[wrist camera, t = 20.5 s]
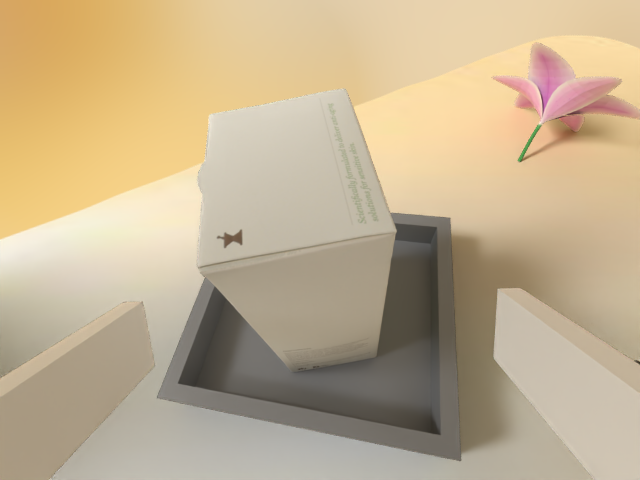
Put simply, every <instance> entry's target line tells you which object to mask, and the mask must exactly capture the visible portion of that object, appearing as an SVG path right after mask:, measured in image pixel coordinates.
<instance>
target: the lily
mask: <svg viewBox="0 0 640 480" xmlns="http://www.w3.org/2000/svg"><path fill="white" fill-rule="evenodd" d="M491 78H493V79H494V80H496V81H498V82H500V83H502V84H504V85H506V86H508V87H510V88H512V89H514V90H516V91H517V92H519V95H518V96H517V98H516V100H515V102H514V106H515V107H517V108H535V109H536V111H537V112H538V114H539V116H540V119H541V120H540V122H539V124H538V125H537V127H536V129H535V130H534V132H533V134H532V135H531V137H530V139H529V140H528V142H527V144H526V146H525V148H524V150H523V152H522V153H521V155H520V157H519V159H518V161H519V162H521V160H522V158H523V156H524V155H525V153H526V151H527V149H528V147H529V145H530V143H531V142H532V140H533V138H534V137H535V135H536V133H537V132H538V130H539V129H540V127H541V126H542V124H544V123H545V122H547V121H549V120H553V119H557V118H558V119H559V120H560V121H562V122H563V123H564V124H565V125H566V126H568V127H569V128H570V129H571V130H572V131H574V132H578V131H579V130H580V128H581V127H582V125H583V123H584V119H585V117H584V115H574V114H607V115H615V116H622V117H628V118H634V119H640V110H639V109H638V108H636V107H635V106H633V105H632V104H630V103H628V102H626V101H624V100H622V99H620V98H617V97H615V96H611V95H606V94H608V93H609V92H611V91H612V90H613V89H615V88H616V87H617V86H618V85H619V84H620V83H621V82H622V79H619V78H615V77H582V78H575V73H574V71H573V69H572V67H571V66H570V65H569V64H568V62H567V61H566V60H565V59H563V58H562V57H561V56H560V55H559V54H558V53H556V52H555V51H553V50H552V49H550V48H549V47H547V46H545V45H543V44H541V43H534V44H533V45H532V48H531V53H530V63H529V71H528V79H526V78H523V77H517V76H493V77H491ZM564 115H571V116H564Z"/></svg>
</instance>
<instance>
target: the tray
mask: <svg viewBox="0 0 640 480" xmlns="http://www.w3.org/2000/svg"><path fill="white" fill-rule="evenodd" d="M390 214H391V217H392V219H393V222H394V224H395V227H396V230H397V232H396V234H395V241H394V246H393V253H392V258H391V263H390V272H389V278H388V285H387V291H386V297H385V304H384V310H383V316H382V323H381V329H380V336H379V342H378V349H377V356H376V357H375V358H370V359H365V360H360V361H355V362H349V363H344V364H338V365H333V366H327V367H322V368H316V369H310V370H304V371H298V372H291V371H290V369H289V368H288V367H287V366H286V365H285V363H284V362H283V361H282V360H281V359H280V358H279V357H278V356H277V354H276V353H275V352H274V351H273V350H272V349H271V348H270V347H269V345H268V344H267V343H266V342H265V341H264V340H263V339H262V338H261V337H260V335H259V334H258V333H257V332H256V331H255V330H254V329H253V328H252V327H251V326H250V324H249V323H248V322H247V321H246V320H245V319H244V318H243V317H242V315H241V314H240V313H239V312H238V311H237V310H236V309H235V308H234V306H233V305H232V304H231V303H230V302H229V301H228V300H227V299H226V298H225V296H224V295H223V294H222V293H221V292H220V291H219V290H218V289H217V288H216V287H215V286H214V285H213V284H212V283H211V282H210V281H209V280H208V279H207V278H206V277H205V279H204V281H203V284H202V286H201V289H200V291H199V294H198V296H197V299H196V301H195V304H194V306H193V309H192V311H191V314H190V316H189V319H188V321H187V324H186V326H185V329H184V331H183V333H182V336H181V338H180V341H179V343H178V346H177V348H176V351H175V353H174V356H173V358H172V361H171V363H170V366H169V368H168V371H167V373H166V376H165V378H164V381H163V383H162V386H161V388H160V391H159V393H158V396H157V398H159V399H164V400H169V401H173V402H178V403H182V404H187V405H192V406H197V407H202V408H206V409H211V410H216V411H221V412H226V413H230V414H235V415H240V416H245V417H250V418H255V419H259V420H264V421H269V422H274V423H279V424H283V425H288V426H293V427H298V428H303V429H308V430H312V431H317V432H322V433H327V434H332V435H336V436H341V437H346V438H351V439H356V440H360V441H365V442H370V443H375V444H380V445H385V446H389V447H394V448H399V449H404V450H409V451H413V452H418V453H423V454H428V455H433V456H438V457H442V458H447V459H453V460H458V461H461V447H460V425H459V402H458V380H457V358H456V336H455V313H454V291H453V269H452V247H451V224H450V218H446V217H435V216H423V215H411V214H400V213H390Z"/></svg>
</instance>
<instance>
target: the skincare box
mask: <svg viewBox="0 0 640 480" xmlns="http://www.w3.org/2000/svg"><path fill="white" fill-rule="evenodd" d="M197 181H198V186H199V189H200V191H201V193H202V202H201V214H200V226H199V239H198V256H197V267H198V269H199V271H200V273H201V274H202V275H203V276H204V277H206V278H207V279H208V280H209V281H210V282H211V283H212V284H213V285H214V286H215V287H216V288H217V289H218V290H219V291H220V292H221V293H222V294H223V295H224V296H225V298H226V299H227V300H228V301H229V302H230V303H231V304H232V305H233V306H234V308H235V309H236V310H237V311H238V312H239V313H240V314H241V315H242V317H243V318H244V319H245V320H246V321H247V322H248V323H249V324H250V326H251V327H252V328H253V329H254V330H255V331H256V332H257V333H258V334H259V335H260V337H261V338H262V339H263V340H264V341H265V342H266V343H267V344H268V345H269V347H270V348H271V349H272V350H273V351H274V352H275V353H276V354H277V356H278V357H279V358H280V359H281V360H282V361H283V362H284V363H285V365H286V366H287V367H288V368H289V369H290V371H291V372H298V371H304V370H310V369H316V368H322V367H327V366H333V365H338V364H344V363H349V362H355V361H360V360H365V359H370V358H375V357H376V356H377V349H378V342H379V336H380V329H381V323H382V316H383V310H384V304H385V297H386V291H387V285H388V278H389V272H390V263H391V258H392V253H393V246H394V241H395V234H396V232H397V230H396V227H395V224H394V222H393V219H392V217H391V214H390V211H389V208H388V205H387V202H386V199H385V196H384V193H383V190H382V187H381V184H380V181H379V179H378V176H377V173H376V170H375V167H374V164H373V161H372V159H371V156H370V153H369V150H368V147H367V144H366V141H365V138H364V136H363V133H362V130H361V127H360V125H359V122H358V119H357V116H356V114H355V111H354V108H353V106H352V103H351V100H350V98H349V95H348V93H347V90H346V89H337V90H331V91H325V92H320V93H315V94H310V95H306V96H301V97H296V98H292V99H287V100H282V101H277V102H272V103H268V104H263V105H258V106H252V107H247V108H241V109H236V110H230V111H225V112H220V113H214V114H210V115H209V126H208V135H207V144H206V153H205V161H204V163H203V164H202V166H201V168H200V170H199V172H198V180H197Z"/></svg>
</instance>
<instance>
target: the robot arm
mask: <svg viewBox="0 0 640 480" xmlns="http://www.w3.org/2000/svg"><path fill="white" fill-rule="evenodd" d="M493 358H494V359H495V361H496V362H497V363H498V364H499V366H500V367H501V368H502V369H503V370H504V372H505V373H506V374H507V375H508V376H509V378H510V379H511V380H512V381H513V382H514V384H515V385H516V386H517V387H518V388H519V390H520V391H521V392H522V393H523V394H524V396H525V397H526V398H527V399H528V401H529V402H530V403H531V404H532V405H533V407H534V408H535V409H536V410H537V411H538V413H539V414H540V415H541V416H542V417H543V419H544V420H545V421H546V422H547V423H548V425H549V426H550V427H551V428H552V429H553V431H554V432H555V433H556V434H557V436H558V437H559V438H560V439H561V440H562V442H563V443H564V444H565V445H566V446H567V448H568V449H569V450H570V451H571V452H572V454H573V455H574V456H575V457H576V458H577V460H578V461H579V462H580V463H581V464H582V466H583V467H584V468H585V469H586V471H587V472H588V473H589V474H590V475H591V477H592V478H593V479H594V480H640V362H639V361H633V360H632V359H630V358H628V357H627V356H625V355H624V354H622V353H621V352H619V351H618V350H616V349H614V348H613V347H611V346H610V345H608V344H607V343H605V342H604V341H602V340H601V339H599V338H597V337H596V336H594V335H593V334H591V333H590V332H588V331H587V330H585V329H583V328H582V327H580V326H579V325H577V324H576V323H574V322H573V321H571V320H569V319H568V318H566V317H565V316H563V315H562V314H560V313H559V312H557V311H555V310H554V309H552V308H551V307H549V306H548V305H546V304H545V303H543V302H542V301H540V300H538V299H537V298H535V297H534V296H532V295H531V294H529V293H528V292H526V291H524V290H523V289H521V288H499V289H498V292H497V308H496V325H495V341H494V357H493ZM154 366H155V363H154V358H153V352H152V347H151V342H150V337H149V332H148V326H147V321H146V316H145V311H144V306H143V302H123V303H121V304H120V305H118V306H117V307H115V308H113V309H112V310H110V311H108V312H107V313H105V314H104V315H102V316H100V317H99V318H97V319H96V320H94V321H92V322H91V323H89V324H87V325H86V326H84V327H83V328H81V329H79V330H78V331H76V332H74V333H73V334H71V335H70V336H68V337H66V338H65V339H63V340H61V341H60V342H58V343H57V344H55V345H53V346H52V347H50V348H48V349H47V350H45V351H44V352H42V353H40V354H39V355H37V356H35V357H34V358H32V359H31V360H29V361H27V362H26V363H24V364H23V365H21V366H19V367H18V368H16V369H14V370H13V371H11V372H10V373H8V374H6V375H5V376H3V377H1V378H0V480H49V479H50V478H51V477H52V476H53V475H54V474H55V472H56V471H57V470H58V469H59V468H60V467H61V466H62V465H63V464H64V463H65V462H66V461H67V460H68V459H69V457H70V456H71V455H72V454H73V453H74V452H75V451H76V450H77V449H78V448H79V447H80V446H81V445H82V444H83V442H84V441H85V440H86V439H87V438H88V437H89V436H90V435H91V434H92V433H93V432H94V431H95V430H96V429H97V427H98V426H99V425H100V424H101V423H102V422H103V421H104V420H105V419H106V418H107V417H108V416H109V415H110V414H111V412H112V411H113V410H114V409H115V408H116V407H117V406H118V405H119V404H120V403H121V402H122V401H123V400H124V399H125V397H126V396H127V395H128V394H129V393H130V392H131V391H132V390H133V389H134V388H135V387H136V386H137V385H138V384H139V382H140V381H141V380H142V379H143V378H144V377H145V376H146V375H147V374H148V373H149V372H150V371H151V370H152V369H153V367H154Z"/></svg>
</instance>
